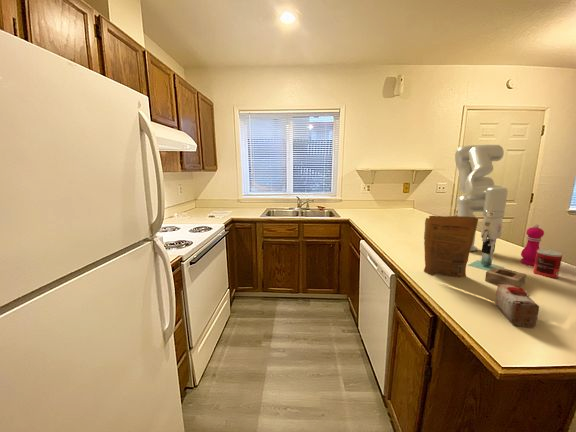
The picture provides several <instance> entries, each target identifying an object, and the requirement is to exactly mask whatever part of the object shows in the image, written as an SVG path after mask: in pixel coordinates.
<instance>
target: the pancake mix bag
mask: <svg viewBox="0 0 576 432" xmlns="http://www.w3.org/2000/svg"><path fill="white" fill-rule="evenodd" d="M475 217H476V216H475ZM475 217H463V216H457V215H455V216H454V215H453V216H452V215H451V216H448V215H447V216H441V215H429V216H428V217H426V218H425V220H424V231H423V232H424V234H423V235H424V236H423V239H424V241H423V244H424V246H423V247H424V269H423V272H424V273H426V274H428V275H430V274H431V276H435V275H439V276H446V277H452V278H466V277H467V272H466V268H467V266H468V262H469V256H470V252H471V251H470V249H471V246H472V243H473V239H474V235H475V236H476V234H475V231H476V232H477V227H478V222H479V218H478V217H476V218H475Z"/></svg>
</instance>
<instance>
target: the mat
mask: <svg viewBox="0 0 576 432" xmlns="http://www.w3.org/2000/svg"><path fill="white" fill-rule="evenodd" d="M467 266H468V267H473V268H475V269H479V270H482V271H486V272H487V271H489V270H490V269H492V268H494V267H496V266H497V267H500V268H504V269H505V266H501V265H498V264H494V263H492V265H491V266H486V265H482V264H481V260H478V259H476V260H475V261H473V262H471V263H469V264H467Z"/></svg>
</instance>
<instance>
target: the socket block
mask: <svg viewBox="0 0 576 432" xmlns="http://www.w3.org/2000/svg"><path fill="white" fill-rule="evenodd" d="M526 277H527V274H526V273H522V272H520V271H519V272H518V271H516V270H512V269H507V268H505V267H504V268H500V267H497V266H496V267H494V268H492V269H490V270H489V271H486V272H485V278H484V281H485V282H487V283H490V284H494V285H496V286H498V284H501V285H502V284H508V285H512V286H515V287H517V288H522V286H523V285H525V284H526V283H525V282H526Z"/></svg>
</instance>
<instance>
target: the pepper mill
mask: <svg viewBox="0 0 576 432" xmlns="http://www.w3.org/2000/svg"><path fill="white" fill-rule="evenodd" d="M526 235H527V237H526V240H527V242H526V244H525V247H524V248H523V249H522V250H521V252H520V256H521V257H522V258H521V259H520V263H521V264H523V265H525V264H526V265H525V266H530V267H534V264H535V259H536V253H537V250H539V249H540V243H541V242H542V237H544V235H545V231H544V229H542V228H540V225H539V224H535V223H534V225H533V227H528V229H526Z"/></svg>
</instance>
